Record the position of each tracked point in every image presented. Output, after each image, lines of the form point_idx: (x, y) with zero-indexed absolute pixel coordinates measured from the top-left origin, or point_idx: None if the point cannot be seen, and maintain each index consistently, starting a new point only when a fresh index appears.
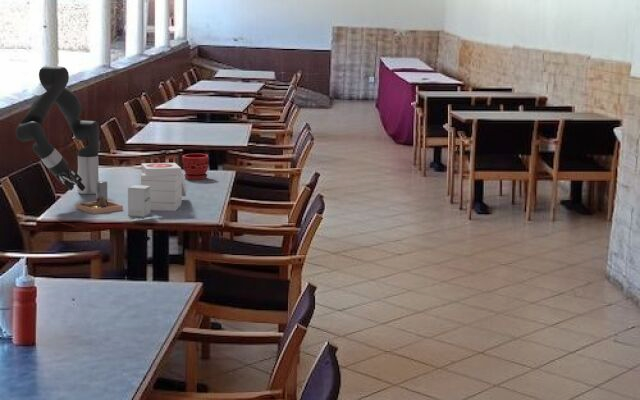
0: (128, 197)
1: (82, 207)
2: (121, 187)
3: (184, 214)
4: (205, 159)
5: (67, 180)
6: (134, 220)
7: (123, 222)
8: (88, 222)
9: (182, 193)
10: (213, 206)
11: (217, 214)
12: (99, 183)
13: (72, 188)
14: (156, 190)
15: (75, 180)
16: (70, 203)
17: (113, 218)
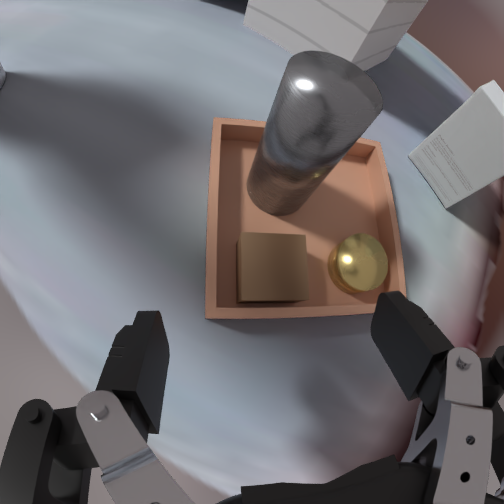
0: (501, 176)
1: (291, 317)
2: (24, 23)
3: (431, 83)
4: None
5: (127, 413)
6: (475, 221)
7: (486, 267)
8: None
9: None
10: None
11: (437, 58)
12: (371, 120)
13: (164, 332)
14: (393, 25)
15: (494, 433)
16: (25, 231)
17: (442, 259)
